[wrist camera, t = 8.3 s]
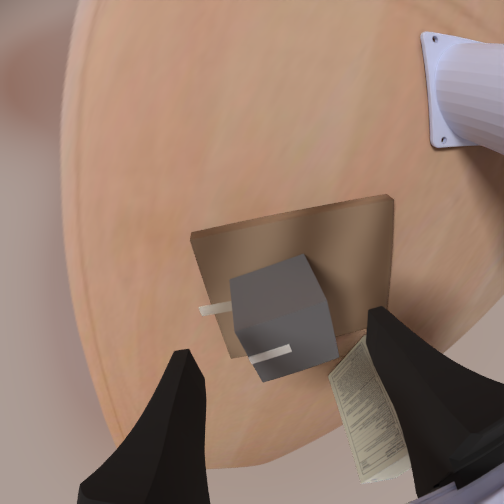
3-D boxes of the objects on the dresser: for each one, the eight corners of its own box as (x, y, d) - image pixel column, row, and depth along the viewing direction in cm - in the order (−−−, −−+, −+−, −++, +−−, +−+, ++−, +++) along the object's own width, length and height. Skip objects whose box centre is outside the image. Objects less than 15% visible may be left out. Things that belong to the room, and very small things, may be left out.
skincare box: (357, 380, 29) (393, 479, 19) (325, 375, 28) (357, 486, 17) (395, 340, 27) (448, 444, 16) (364, 331, 25) (417, 449, 15)
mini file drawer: (303, 253, 19) (327, 301, 15) (318, 308, 22) (339, 358, 18) (229, 279, 20) (234, 333, 16) (254, 331, 22) (263, 383, 18)
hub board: (386, 194, 19) (413, 215, 16) (380, 315, 24) (396, 343, 21) (177, 235, 19) (170, 265, 16) (220, 351, 25) (220, 384, 22)
